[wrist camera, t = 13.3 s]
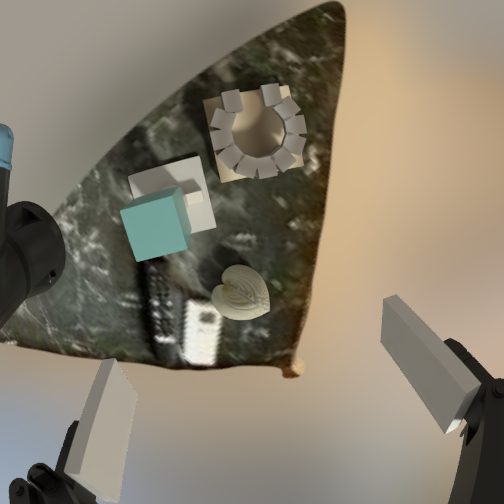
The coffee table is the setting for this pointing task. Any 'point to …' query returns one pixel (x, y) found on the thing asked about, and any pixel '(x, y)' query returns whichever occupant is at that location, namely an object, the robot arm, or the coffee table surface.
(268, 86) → the socket
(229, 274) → the seashell
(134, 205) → the plug
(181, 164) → the mat
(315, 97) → the coffee table surface
